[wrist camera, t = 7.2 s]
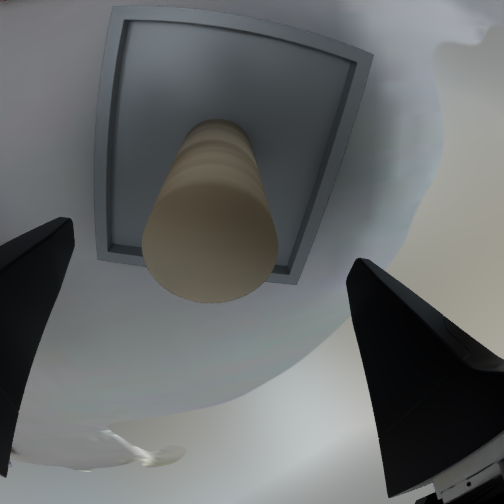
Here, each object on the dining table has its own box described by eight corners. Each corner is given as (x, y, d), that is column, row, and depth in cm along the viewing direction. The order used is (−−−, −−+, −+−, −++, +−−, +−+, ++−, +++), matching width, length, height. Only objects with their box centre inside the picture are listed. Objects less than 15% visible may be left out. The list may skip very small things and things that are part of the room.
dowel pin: (243, 189, 19) (260, 308, 10) (177, 179, 18) (141, 294, 10) (258, 125, 17) (294, 202, 8) (187, 114, 16) (144, 179, 8)
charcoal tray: (292, 269, 24) (296, 285, 22) (105, 245, 21) (97, 259, 19) (360, 54, 15) (373, 54, 13) (122, 10, 12) (112, 6, 11)
